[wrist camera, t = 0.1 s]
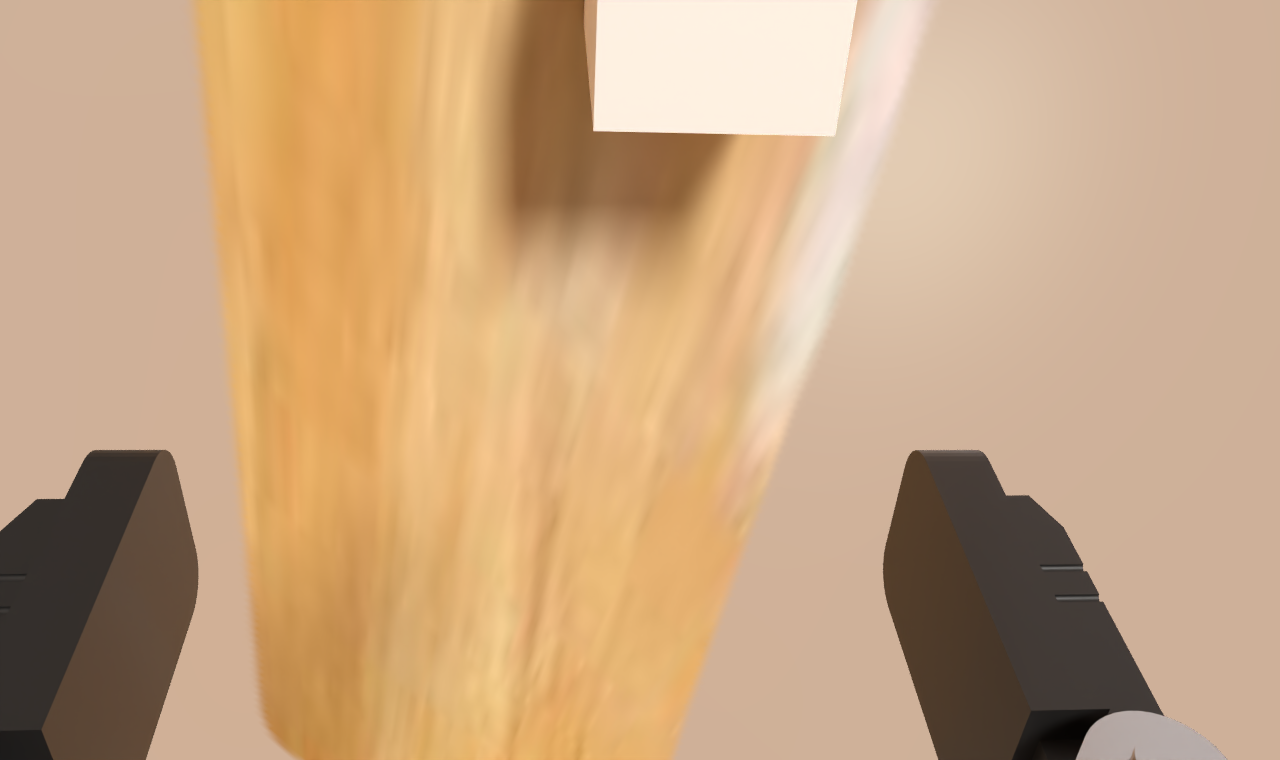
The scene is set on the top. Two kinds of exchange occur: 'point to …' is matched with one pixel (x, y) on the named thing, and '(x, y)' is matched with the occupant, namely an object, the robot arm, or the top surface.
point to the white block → (717, 65)
